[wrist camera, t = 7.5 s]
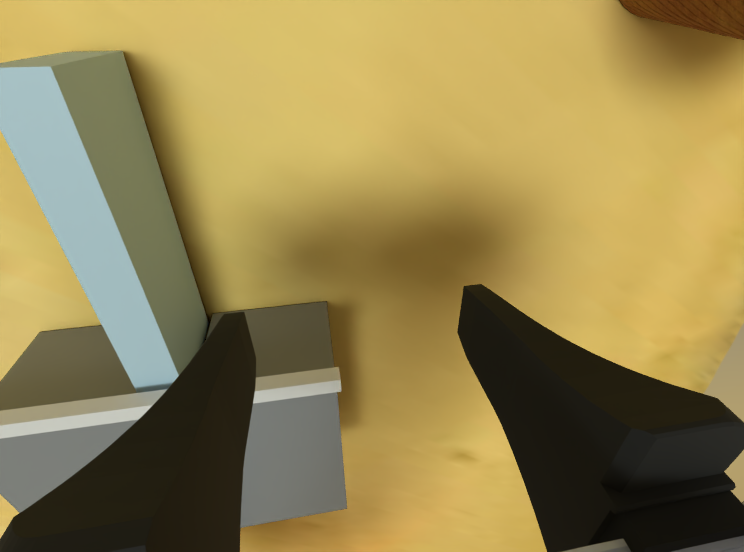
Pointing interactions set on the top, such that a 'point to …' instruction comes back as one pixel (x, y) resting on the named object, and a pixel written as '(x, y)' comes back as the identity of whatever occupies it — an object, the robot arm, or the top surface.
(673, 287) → the top surface
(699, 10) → the disposable coffee cup
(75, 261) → the light blue rectangular block
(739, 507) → the robot arm
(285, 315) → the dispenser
